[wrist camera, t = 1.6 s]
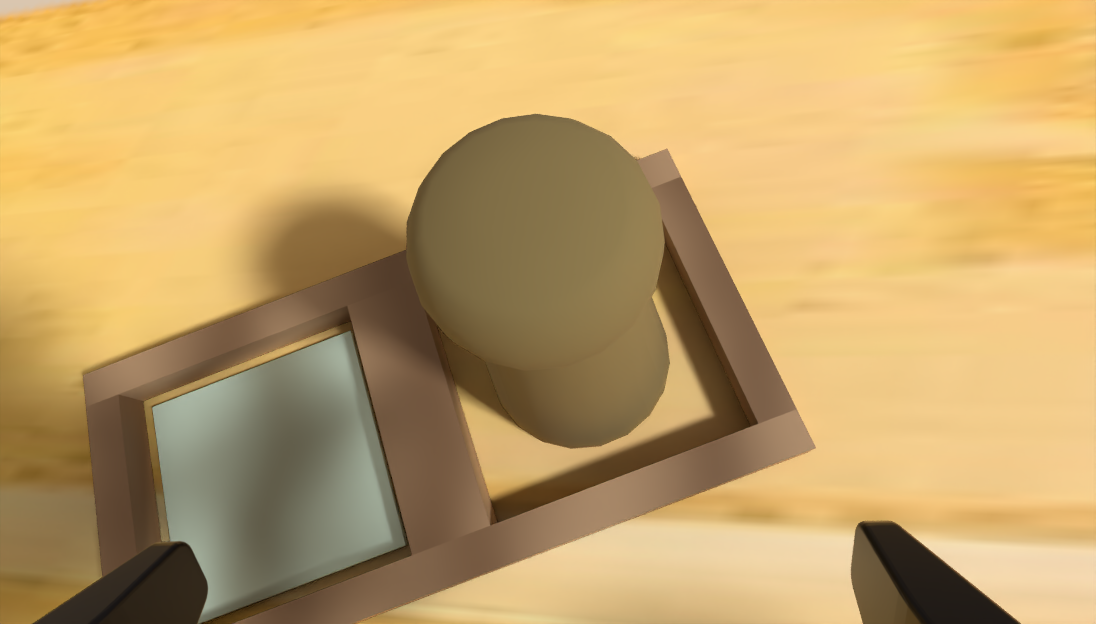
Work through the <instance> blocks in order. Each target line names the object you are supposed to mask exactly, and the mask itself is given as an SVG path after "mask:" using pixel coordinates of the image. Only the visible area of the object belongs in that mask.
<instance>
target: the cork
mask: <svg viewBox="0 0 1096 624" xmlns="http://www.w3.org/2000/svg"><path fill="white" fill-rule="evenodd" d="M664 244H665V239H664V232H663V224H662V216H661V209H660V204H659V202H658V200H657V198H656V196H655V194H654V192H653V190H652V188H651V186H650V184H649V182H648V181H647V179H646V177H645V175H644V173H643V171H642V169H641V167H640V165H639V163H638V161H637V160H636V159H635V158H634V157H633V156H631V155H630V154H629V153H628V152H627V151H626V150H625V149H624V148H623V147H622V146H621V145H620V144H619V143H618V142H616V141H615V140H614V139H613V138H612V137H611V136H609V135H607V134H605V133H603V132H600V131H598V130H596V129H594V128H592V127H590V126H587V125H585V124H583V123H581V122H579V121H576V120H573V119H569V118H562V117H555V116H548V115H540V114H532V115H525V116H518V117H510V118H503V119H500V120H498V121H495V122H493V123H491V124H488V125H486V126H483V127H481V128H479V129H476V130H474V131H472V132H470V133H468V134H467V135H466V136H465V137H463V138H462V139H461V140H459V141H458V142H457V143H456V144H454V145H453V146H452V147H450V148H449V149H448V150H447V151H445V152H444V153H443V154H442V155H441V157H440V158H439V160H438V161H437V162H436V164H435V165H434V166H433V168H432V169H431V170H430V172H429V173H428V175H427V176H426V177H425V179H424V180H423V182H422V183H421V185H420V187H419V188H418V191H417V194H416V197H415V200H414V203H413V206H412V209H411V212H410V215H409V217H408V220H407V244H406V259H407V263H408V267H409V271H410V274H411V277H412V280H413V283H414V286H415V289H416V291H417V294H418V297H419V300H420V303H421V305H422V307H423V308H424V309H425V310H426V312H427V313H428V314H429V315H430V317H431V318H432V319H433V320H434V321H435V323H436V324H437V325H438V326H439V328H440V329H441V330H442V331H443V333H444V334H445V335H446V336H447V337H448V338H449V339H451V340H452V341H453V342H454V343H456V344H457V345H459V346H460V347H462V348H464V349H465V350H467V351H469V352H470V353H472V354H474V355H475V356H477V357H478V358H480V359H482V360H483V361H485V363H486V366H487V368H488V371H489V374H490V376H491V379H492V382H493V384H494V387H495V390H496V392H497V395H498V398H499V400H500V403H501V405H502V407H503V408H504V409H505V410H506V411H507V413H508V414H509V415H510V416H511V418H512V419H513V420H514V421H515V423H516V424H517V425H518V426H519V427H520V428H522V429H523V430H525V431H527V432H528V433H530V434H531V435H533V436H535V437H536V438H538V439H539V440H541V441H542V442H546V443H550V444H554V445H559V446H563V447H567V448H583V447H596V446H602V445H604V444H606V443H609V442H611V441H613V440H616V439H618V438H621V437H623V436H625V435H628V434H629V433H630V432H631V431H632V430H633V429H634V428H636V427H637V426H638V425H639V424H640V423H641V422H642V421H644V420H645V419H646V418H647V417H648V416H649V415H650V414H651V412H652V410H653V408H654V407H655V405H656V403H657V402H658V400H659V398H660V396H661V395H662V393H663V391H664V388H665V383H666V378H667V374H668V369H669V364H670V361H669V353H668V345H667V337H666V333H665V331H664V328H663V325H662V323H661V320H660V317H659V315H658V312H657V310H656V307H655V304H654V302H653V299H652V295H653V294H654V292H655V290H656V285H657V281H658V276H659V272H660V267H661V263H662V258H663V254H664Z"/></svg>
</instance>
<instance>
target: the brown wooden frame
mask: <svg viewBox="0 0 1096 624" xmlns="http://www.w3.org/2000/svg"><path fill="white" fill-rule="evenodd" d="M637 161H638V163H639V165H640V167H641V169H642V171H643V173H644V175H645V177H646V179H647V181H648V182H649V184H650V186H651V188H652V190H653V192H654V194H655V196H656V198H657V200H658V202H659V204H660V209H661V216H662V224H663V232H664V239H665V244H666V246H667V248H668V250H669V252H670V254H671V257H672V259H673V261H674V263H675V265H676V267H677V269H678V272H679V274H680V276H681V278H682V280H683V282H684V284H685V287H686V289H687V291H688V293H689V295H690V297H691V299H692V302H693V304H694V306H695V308H696V310H697V312H698V314H699V317H700V319H701V321H702V323H703V325H704V327H705V329H706V332H707V334H708V336H709V338H710V340H711V342H712V344H713V347H714V349H715V351H716V353H717V355H718V357H719V359H720V362H721V364H722V366H723V368H724V370H725V372H726V374H727V377H728V379H729V381H730V383H731V385H732V387H733V389H734V392H735V394H736V396H737V398H738V400H739V402H740V404H741V407H742V409H743V411H744V413H745V415H746V417H747V419H748V422H749V424H750V426H751V427H749V428H746V429H743V430H741V431H738V432H735V433H733V434H730V435H728V436H725V437H722V438H720V439H717V440H714V441H712V442H709V443H706V444H704V445H701V446H699V447H696V448H693V449H691V450H688V451H685V452H683V453H680V454H678V455H675V456H672V457H670V458H667V459H664V460H662V461H659V462H656V463H654V464H651V465H649V466H646V467H643V468H641V469H638V470H635V471H633V472H630V473H627V474H625V475H622V476H620V477H617V478H614V479H612V480H609V481H606V482H604V483H601V484H599V485H596V486H593V487H591V488H588V489H585V490H583V491H580V492H577V493H575V494H572V495H570V496H567V497H564V498H562V499H559V500H556V501H554V502H551V503H548V504H546V505H543V506H541V507H538V508H535V509H533V510H530V511H527V512H525V513H522V514H520V515H517V516H514V517H512V518H509V519H506V520H504V521H501V522H497V519H496V516H495V513H494V509H493V506H492V503H491V500H490V497H489V493H488V490H487V487H486V484H485V480H484V477H483V474H482V471H481V467H480V464H479V461H478V458H477V454H476V451H475V448H474V445H473V442H472V438H471V435H470V432H469V429H468V425H467V422H466V419H465V416H464V412H463V409H462V406H461V403H460V399H459V396H458V393H457V390H456V387H455V383H454V380H453V377H452V374H451V370H450V367H449V364H448V361H447V357H446V354H445V351H444V348H443V344H442V341H441V338H440V335H439V332H438V328H437V325H436V323H435V321H434V320H433V319H432V318H431V317H430V315H429V314H428V313H427V312H426V310H425V309H424V308H423V307H422V305H421V303H420V300H419V297H418V294H417V291H416V289H415V286H414V283H413V280H412V277H411V274H410V271H409V267H408V263H407V259H406V250H404V251H402V252H399V253H397V254H394V255H392V256H389V257H386V258H384V259H381V260H379V261H376V262H373V263H371V264H368V265H366V266H363V267H361V268H358V269H355V270H353V271H350V272H348V273H345V274H343V275H340V276H337V277H335V278H332V279H330V280H327V281H324V282H322V283H319V284H317V285H314V286H312V287H309V288H306V289H304V290H301V291H299V292H296V293H294V294H291V295H288V296H286V297H283V298H281V299H278V300H275V301H273V302H270V303H268V304H265V305H263V306H260V307H257V308H255V309H252V310H250V311H247V312H245V313H242V314H239V315H237V316H234V317H232V318H229V319H226V320H224V321H221V322H219V323H216V324H214V325H211V326H208V327H206V328H203V329H201V330H198V331H196V332H193V333H190V334H188V335H185V336H183V337H180V338H177V339H175V340H172V341H170V342H167V343H165V344H162V345H159V346H157V347H154V348H152V349H149V350H147V351H144V352H141V353H139V354H136V355H134V356H131V357H128V358H126V359H123V360H121V361H118V362H116V363H113V364H110V365H108V366H105V367H103V368H100V369H98V370H95V371H92V372H90V373H87V374H85V375H83V381H84V391H85V401H86V411H87V422H88V432H89V442H90V453H91V463H92V473H93V484H94V494H95V504H96V514H97V525H98V535H99V545H100V556H101V566H102V576H103V577H104V576H105V575H107V574H108V573H110V572H111V571H113V570H114V569H116V568H117V567H119V566H120V565H122V564H123V563H125V562H126V561H128V560H129V559H131V558H132V557H134V556H135V555H137V554H138V553H140V552H141V551H143V550H144V549H146V548H147V547H149V546H150V545H152V544H154V543H157V542H161V536H160V528H159V520H158V513H157V505H156V497H155V490H154V482H153V474H152V466H151V459H150V451H149V443H148V436H147V428H146V420H145V412H144V405H143V401H145V400H147V399H150V398H152V397H155V396H157V395H160V394H163V393H165V392H168V391H170V390H173V389H176V388H178V387H181V386H183V385H186V384H188V383H191V382H194V381H196V380H199V379H201V378H204V377H207V376H209V375H212V374H214V373H217V372H220V371H222V370H225V369H227V368H230V367H232V366H235V365H238V364H240V363H243V362H245V361H248V360H251V359H253V358H256V357H258V356H261V355H264V354H266V353H269V352H271V351H274V350H276V349H279V348H282V347H284V346H287V345H289V344H292V343H295V342H297V341H300V340H302V339H305V338H308V337H310V336H313V335H315V334H318V333H320V332H323V331H326V330H328V329H331V328H333V327H336V326H339V325H341V324H344V323H346V322H349V321H351V322H352V326H353V330H354V333H355V337H356V341H357V345H358V349H359V353H360V357H361V360H362V364H363V368H364V372H365V376H366V380H367V384H368V387H369V391H370V395H371V399H372V403H373V407H374V411H375V414H376V418H377V422H378V426H379V430H380V434H381V438H382V441H383V445H384V449H385V453H386V457H387V461H388V465H389V468H390V472H391V476H392V480H393V484H394V488H395V492H396V495H397V499H398V503H399V507H400V511H401V515H402V519H403V522H404V526H405V530H406V534H407V538H408V542H409V546H410V549H411V553H412V556H409V557H406V558H404V559H401V560H398V561H396V562H393V563H390V564H388V565H385V566H383V567H380V568H377V569H375V570H372V571H369V572H367V573H364V574H362V575H359V576H356V577H354V578H351V579H348V580H346V581H343V582H340V583H338V584H335V585H333V586H330V587H327V588H325V589H322V590H319V591H317V592H314V593H311V594H309V595H306V596H304V597H301V598H298V599H296V600H293V601H290V602H288V603H285V604H283V605H280V606H277V607H275V608H272V609H269V610H267V611H264V612H261V613H259V614H256V615H254V616H251V617H248V618H246V619H243V620H240V621H238V622H235V623H232V624H355V623H358V622H361V621H363V620H366V619H369V618H371V617H374V616H376V615H379V614H382V613H384V612H387V611H390V610H392V609H395V608H398V607H400V606H403V605H405V604H408V603H411V602H413V601H416V600H419V599H421V598H424V597H427V596H429V595H432V594H435V593H437V592H440V591H442V590H445V589H448V588H450V587H453V586H456V585H458V584H461V583H464V582H466V581H469V580H472V579H474V578H477V577H479V576H482V575H485V574H487V573H490V572H493V571H495V570H498V569H501V568H503V567H506V566H509V565H511V564H514V563H516V562H519V561H522V560H524V559H527V558H530V557H532V556H535V555H538V554H540V553H543V552H545V551H548V550H551V549H553V548H556V547H559V546H561V545H564V544H567V543H569V542H572V541H575V540H577V539H580V538H582V537H585V536H588V535H590V534H593V533H596V532H598V531H601V530H604V529H606V528H609V527H612V526H614V525H617V524H619V523H622V522H625V521H627V520H630V519H633V518H635V517H638V516H641V515H643V514H646V513H649V512H651V511H654V510H656V509H659V508H662V507H664V506H667V505H670V504H672V503H675V502H678V501H680V500H683V499H686V498H688V497H691V496H693V495H696V494H699V493H701V492H704V491H707V490H709V489H712V488H715V487H717V486H720V485H722V484H725V483H728V482H730V481H733V480H736V479H738V478H741V477H744V476H746V475H749V474H752V473H754V472H757V471H759V470H762V469H765V468H767V467H770V466H773V465H775V464H778V463H781V462H783V461H786V460H789V459H791V458H794V457H796V456H799V455H802V454H804V453H807V452H809V451H811V450H813V449H815V448H816V447H815V445H814V443H813V441H812V439H811V437H810V435H809V433H808V431H807V429H806V427H805V425H804V423H803V421H802V419H801V417H800V415H799V413H798V411H797V409H796V407H795V405H794V403H793V401H792V399H791V397H790V395H789V393H788V391H787V389H786V387H785V385H784V383H783V381H782V379H781V377H780V375H779V373H778V371H777V369H776V367H775V365H774V362H773V360H772V358H771V356H770V354H769V352H768V350H767V348H766V346H765V344H764V342H763V340H762V338H761V336H760V334H759V332H758V330H757V328H756V326H755V324H754V322H753V320H752V318H751V316H750V314H749V312H748V310H747V308H746V306H745V304H744V302H743V300H742V298H741V296H740V294H739V292H738V290H737V288H736V286H735V284H734V282H733V280H732V278H731V276H730V274H729V272H728V270H727V268H726V266H725V264H724V262H723V260H722V258H721V256H720V254H719V252H718V250H717V248H716V246H715V244H714V242H713V240H712V238H711V236H710V234H709V232H708V230H707V228H706V226H705V224H704V222H703V220H702V218H701V216H700V214H699V212H698V210H697V208H696V206H695V204H694V202H693V200H692V198H691V196H690V194H689V192H688V190H687V188H686V186H685V184H684V182H683V180H682V178H681V176H680V174H679V172H678V170H677V167H676V165H675V163H674V161H673V159H672V157H671V155H670V153H669V151H668V149H665V150H662V151H660V152H657V153H655V154H652V155H649V156H647V157H644V158H642V159H639V160H637ZM152 409H153V417H154V424H155V432H156V439H157V447H158V454H159V461H160V469H161V476H162V484H163V491H164V499H165V506H166V513H167V521H168V528H169V536H170V541H183V542H186V543H187V544H188V545H190V547H191V548H192V550H193V552H194V554H195V556H196V559H197V561H198V563H199V565H200V567H201V569H202V571H203V573H204V575H205V577H206V579H207V583H208V595H207V600H206V603H205V605H204V608H203V611H202V613H201V616H200V619H199V621H198V624H201V623H204V622H206V621H209V620H212V619H214V618H217V617H220V616H222V615H225V614H227V613H230V612H233V611H235V610H238V609H241V608H243V607H246V606H249V605H251V604H254V603H256V602H259V601H262V600H264V599H267V598H270V597H272V596H275V595H277V594H280V593H283V592H285V591H288V590H291V589H293V588H296V587H299V586H301V585H304V584H306V583H309V582H312V581H314V580H317V579H320V578H322V577H325V576H327V575H330V574H333V573H335V572H338V571H341V570H343V569H346V568H349V567H351V566H354V565H356V564H359V563H362V562H364V561H367V560H370V559H372V558H375V557H377V556H380V555H383V554H385V553H388V552H391V551H393V550H396V549H399V548H401V547H404V546H406V545H408V544H407V540H406V537H405V533H404V529H403V525H402V521H401V517H400V513H399V509H398V506H397V502H396V498H395V494H394V490H393V486H392V482H391V479H390V475H389V471H388V467H387V463H386V459H385V455H384V451H383V448H382V444H381V440H380V436H379V432H378V428H377V424H376V420H375V417H374V413H373V409H372V405H371V401H370V397H369V393H368V390H367V386H366V382H365V378H364V374H363V370H362V366H361V362H360V359H359V355H358V351H357V347H356V343H355V339H354V335H353V332H352V331H348V332H346V333H343V334H340V335H338V336H335V337H333V338H330V339H327V340H325V341H322V342H320V343H317V344H314V345H312V346H309V347H307V348H304V349H302V350H299V351H296V352H294V353H291V354H289V355H286V356H283V357H281V358H278V359H276V360H273V361H270V362H268V363H265V364H263V365H260V366H258V367H255V368H252V369H250V370H247V371H245V372H242V373H239V374H237V375H234V376H232V377H229V378H226V379H224V380H221V381H219V382H216V383H213V384H211V385H208V386H206V387H203V388H201V389H198V390H195V391H193V392H190V393H188V394H185V395H182V396H180V397H177V398H175V399H172V400H169V401H167V402H164V403H162V404H159V405H157V406H154V407H152Z"/></svg>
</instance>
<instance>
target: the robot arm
mask: <svg viewBox="0 0 1096 624" xmlns="http://www.w3.org/2000/svg"><path fill="white" fill-rule="evenodd" d="M851 579H852V585H853V589H854V593H855V597H856V600H857V604H858V607H859V611H860V614H861V618H862V622H863V624H1021V623H1020V622H1018V621H1017V620H1016V619H1015V618H1013V617H1012V616H1011V615H1010V614H1009V613H1007V612H1006V611H1005V610H1004V609H1002V608H1001V607H1000V606H999V605H997V604H996V603H995V602H994V601H992V600H991V599H990V598H989V597H987V596H986V595H985V594H984V593H983V592H981V591H980V590H979V589H978V588H976V587H975V586H974V585H973V584H971V583H970V582H969V581H968V580H966V579H965V578H964V577H963V576H961V575H960V574H959V573H958V572H957V571H955V570H954V569H953V568H952V567H950V566H949V565H948V564H947V563H945V562H944V561H943V560H942V559H940V558H939V557H938V556H937V555H935V554H934V553H933V552H932V551H931V550H929V549H928V548H927V547H926V546H924V545H923V544H922V543H921V542H919V541H918V540H917V539H916V538H914V537H913V536H912V535H911V534H909V533H908V532H907V531H906V530H904V529H903V528H902V527H901V526H900V525H898V524H897V523H895V522H892V521H863V522H860V523H859V524H858V525H857V527H856V530H855V538H854V546H853V555H852V563H851ZM207 595H208V583H207V579H206V577H205V575H204V573H203V571H202V569H201V567H200V565H199V563H198V561H197V559H196V556H195V554H194V552H193V550H192V548H191V547H190V545H188V544H187V543H186V542H183V541H167V542H157V543H154V544H152V545H150V546H149V547H147V548H146V549H144V550H143V551H141V552H140V553H138V554H137V555H135V556H134V557H132V558H131V559H129V560H128V561H126V562H125V563H123V564H122V565H120V566H119V567H117V568H116V569H114V570H113V571H111V572H110V573H108V574H107V575H105V576H104V577H102V578H101V579H99V580H98V581H96V582H94V583H93V584H91V585H90V586H88V587H87V588H85V589H84V590H82V591H81V592H79V593H78V594H76V595H75V596H73V597H72V598H70V599H69V600H67V601H66V602H64V603H63V604H61V605H60V606H58V607H57V608H55V609H54V610H52V611H51V612H49V613H48V614H46V615H45V616H43V617H42V618H40V619H39V620H37V621H36V622H34V623H33V624H198V621H199V619H200V616H201V613H202V611H203V608H204V605H205V603H206V600H207Z"/></svg>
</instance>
